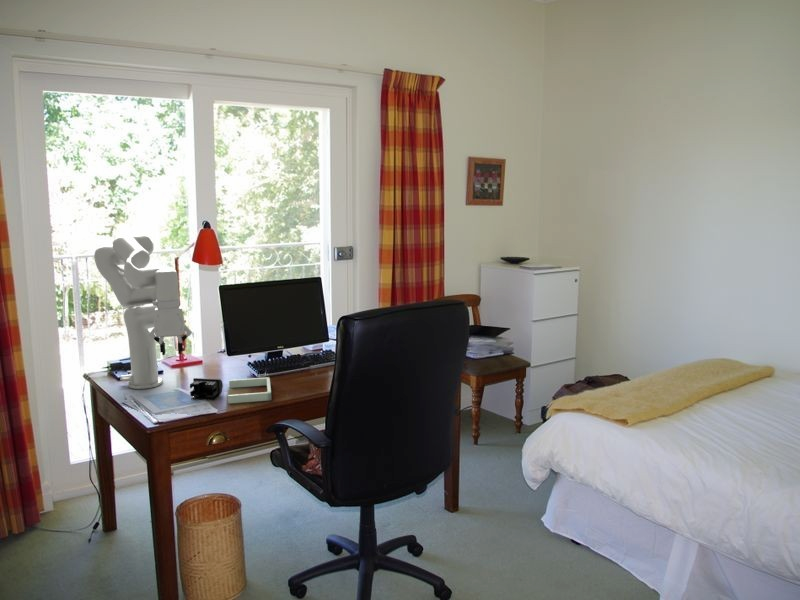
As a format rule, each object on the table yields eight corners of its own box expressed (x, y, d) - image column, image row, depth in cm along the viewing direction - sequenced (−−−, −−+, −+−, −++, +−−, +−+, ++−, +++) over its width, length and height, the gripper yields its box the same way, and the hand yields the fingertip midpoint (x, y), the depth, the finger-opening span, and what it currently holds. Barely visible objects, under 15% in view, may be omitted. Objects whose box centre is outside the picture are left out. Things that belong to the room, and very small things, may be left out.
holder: (228, 403, 234) (227, 396, 233) (229, 386, 252) (229, 380, 251) (271, 400, 237) (271, 392, 237) (269, 383, 255) (269, 377, 254)
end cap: (223, 394, 244) (222, 376, 242) (215, 400, 237) (214, 383, 236) (198, 393, 245) (196, 375, 244) (189, 399, 238) (188, 381, 237)
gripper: (141, 307, 226) (145, 358, 230) (192, 305, 230) (195, 355, 234) (144, 303, 233) (148, 352, 237) (194, 301, 237) (197, 349, 241)
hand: (171, 353), depth 235 cm, fingers open, 4 cm apart
